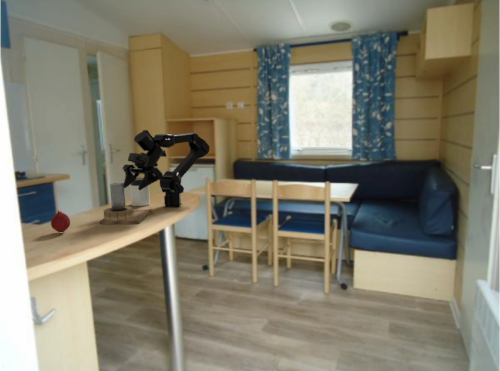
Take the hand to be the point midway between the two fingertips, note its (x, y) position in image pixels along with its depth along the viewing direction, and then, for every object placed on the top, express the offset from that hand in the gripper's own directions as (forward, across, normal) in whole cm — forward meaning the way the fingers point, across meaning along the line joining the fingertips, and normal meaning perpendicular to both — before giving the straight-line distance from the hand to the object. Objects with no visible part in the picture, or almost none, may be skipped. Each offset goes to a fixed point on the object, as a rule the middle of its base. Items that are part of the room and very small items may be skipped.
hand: (131, 188), depth 141 cm
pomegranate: (+28, -3, -12) cm, 30 cm away
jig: (+10, 0, +6) cm, 12 cm away
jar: (-3, -16, +20) cm, 26 cm away
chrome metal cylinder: (+12, 0, +3) cm, 12 cm away
